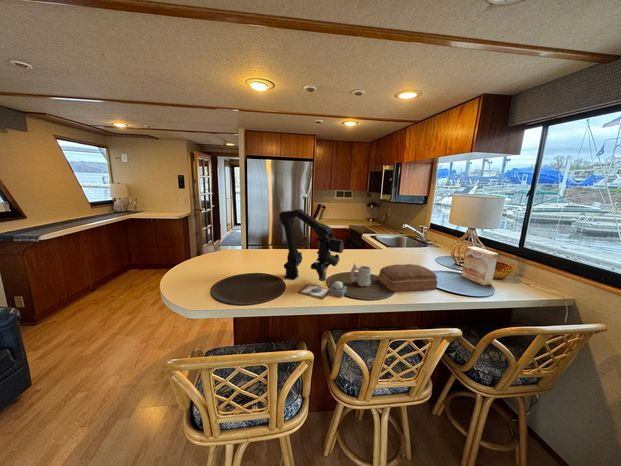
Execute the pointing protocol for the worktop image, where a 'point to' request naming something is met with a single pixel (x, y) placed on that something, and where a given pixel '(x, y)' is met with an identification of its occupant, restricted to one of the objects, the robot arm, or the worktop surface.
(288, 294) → the worktop surface
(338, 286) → the button
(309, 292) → the picture frame
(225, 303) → the worktop surface
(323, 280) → the marker
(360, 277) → the mug
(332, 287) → the button collar
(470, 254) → the coffeecake box
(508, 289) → the worktop surface
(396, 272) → the bread
